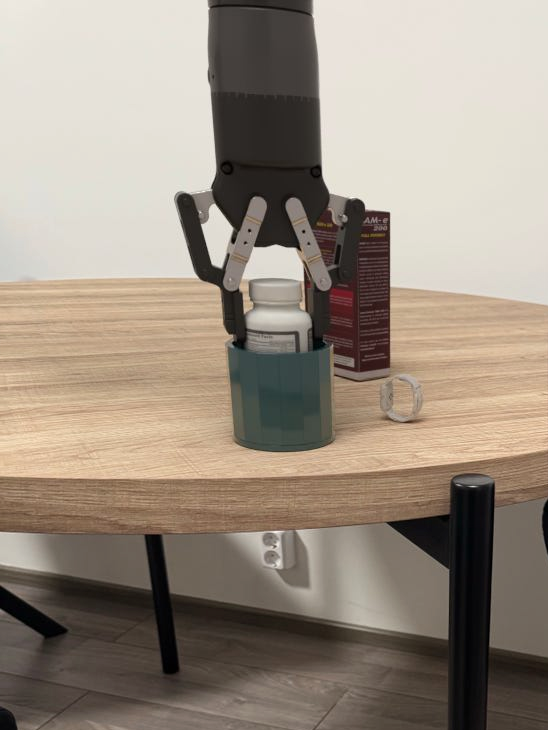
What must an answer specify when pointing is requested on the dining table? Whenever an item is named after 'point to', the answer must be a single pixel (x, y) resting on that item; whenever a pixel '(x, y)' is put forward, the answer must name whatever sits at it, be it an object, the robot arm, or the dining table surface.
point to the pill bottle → (277, 317)
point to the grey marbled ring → (387, 395)
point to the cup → (281, 397)
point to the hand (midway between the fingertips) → (278, 339)
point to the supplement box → (359, 299)
